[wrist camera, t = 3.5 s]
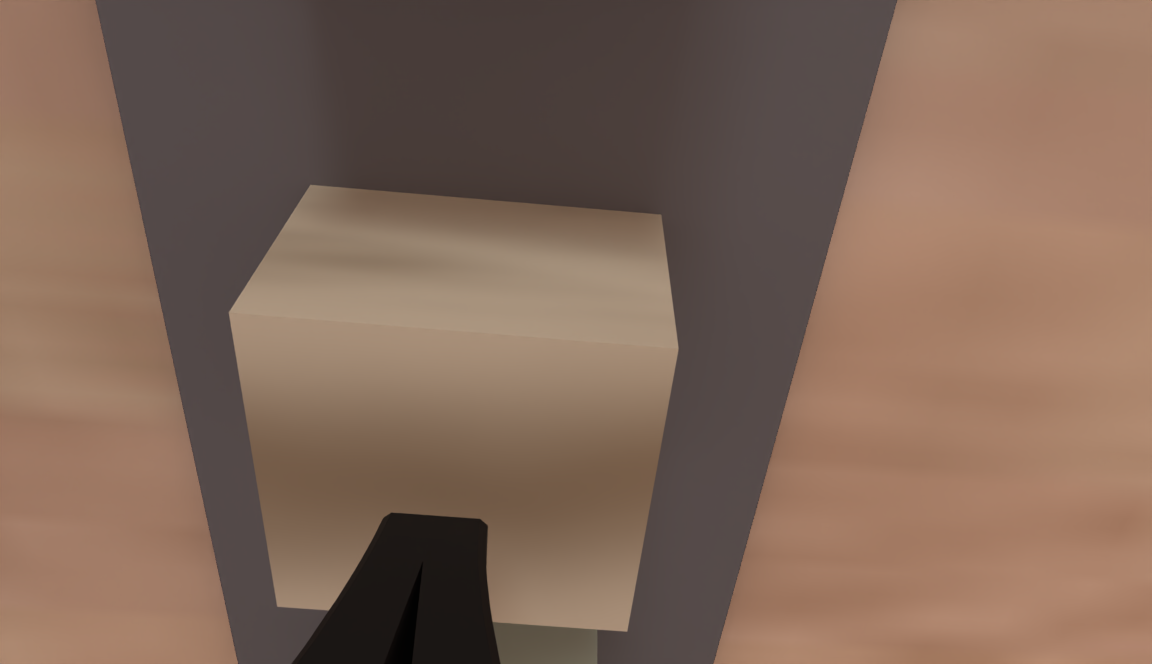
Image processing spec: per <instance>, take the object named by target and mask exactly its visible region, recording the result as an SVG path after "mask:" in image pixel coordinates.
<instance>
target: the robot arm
mask: <svg viewBox="0 0 1152 664" xmlns="http://www.w3.org/2000/svg"><path fill="white" fill-rule="evenodd" d="M487 540H488V525H487V524H486V523H485V522H483V521H482V520H481V519H476V518H462V517H448V516H434V515H420V514H406V513H392V512H391V513H390V514H388V515H387V516H385V517H384V518H383V519H382V521H381V523H380V525H379V527H378V529H377V531H376V533H375V535H374V537H373V539H372V541H371V543H370V544H369V546H368V548H367V550H366V552H365V553H364V555H363V557H362V559H361V560H360V562H359V564H358V565H357V567H356V569H355V571H354V572H353V574H352V575H351V577H350V579H349V580H348V582H347V583H346V585H345V587H344V588H343V590H342V591H341V593H340V595H339V596H338V598H337V599H336V601H335V602H334V604H333V605H332V607H331V608H330V609H329V611H328V612H327V614H326V615H325V617H324V618H323V620H322V621H321V623H320V624H319V626H318V627H317V629H316V630H315V632H314V633H313V635H312V636H311V638H310V639H309V640H308V642H307V643H306V645H305V646H304V647H303V649H302V650H301V652H300V653H299V654H298V656H297V657H296V658H295V660H294V661H293V662H292V664H501V663H500V658H499V653H498V648H497V643H496V638H495V632H494V627H493V621H492V615H491V609H490V601H489V592H488V583H487V569H486V566H487Z"/></svg>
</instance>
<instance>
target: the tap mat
mask: <svg viewBox="0 0 1152 664" xmlns="http://www.w3.org/2000/svg"><path fill="white" fill-rule="evenodd" d="M896 3H897V0H96V5H97V9H98V14H99V19H100V23H101V28H102V33H103V37H104V42H105V47H106V51H107V56H108V61H109V65H110V70H111V75H112V79H113V84H114V89H115V93H116V98H117V102H118V107H119V112H120V116H121V121H122V126H123V130H124V135H125V140H126V144H127V149H128V154H129V158H130V163H131V168H132V172H133V177H134V181H135V186H136V191H137V195H138V200H139V205H140V209H141V214H142V219H143V223H144V228H145V233H146V237H147V242H148V247H149V251H150V256H151V261H152V265H153V270H154V274H155V279H156V284H157V288H158V293H159V298H160V302H161V307H162V312H163V316H164V321H165V326H166V330H167V335H168V340H169V344H170V349H171V354H172V358H173V363H174V367H175V372H176V377H177V381H178V386H179V391H180V395H181V400H182V405H183V409H184V414H185V419H186V423H187V428H188V433H189V437H190V442H191V447H192V451H193V456H194V460H195V465H196V470H197V474H198V479H199V484H200V488H201V493H202V498H203V502H204V507H205V512H206V516H207V521H208V526H209V530H210V535H211V539H212V544H213V549H214V553H215V558H216V563H217V567H218V572H219V577H220V581H221V586H222V591H223V595H224V600H225V605H226V609H227V614H228V619H229V623H230V628H231V632H232V637H233V642H234V646H235V651H236V656H237V660H238V664H292V662H293V661H294V660H295V658H296V657H297V656H298V654H299V653H300V652H301V650H302V649H303V647H304V646H305V645H306V643H307V642H308V640H309V639H310V638H311V636H312V635H313V633H314V632H315V630H316V629H317V627H318V626H319V624H320V623H321V621H322V620H323V618H324V617H325V615H326V614H327V612H328V611H329V610H316V609H301V608H287V607H277V602H276V596H275V590H274V584H273V578H272V572H271V566H270V560H269V554H268V548H267V542H266V535H265V529H264V523H263V517H262V511H261V505H260V499H259V493H258V487H257V481H256V475H255V469H254V463H253V457H252V451H251V445H250V438H249V432H248V426H247V420H246V414H245V408H244V402H243V396H242V390H241V384H240V378H239V372H238V366H237V360H236V354H235V348H234V341H233V335H232V329H231V323H230V317H229V311H230V310H231V308H232V307H233V305H234V304H235V302H236V300H237V299H238V297H239V296H240V294H241V293H242V291H243V290H244V288H245V286H246V285H247V283H248V282H249V280H250V279H251V277H252V275H253V274H254V272H255V271H256V269H257V268H258V266H259V264H260V263H261V261H262V260H263V258H264V257H265V255H266V254H267V252H268V250H269V249H270V247H271V246H272V244H273V243H274V241H275V239H276V238H277V236H278V235H279V233H280V232H281V230H282V228H283V227H284V225H285V224H286V222H287V221H288V219H289V218H290V216H291V214H292V213H293V211H294V210H295V208H296V207H297V205H298V203H299V202H300V200H301V199H302V197H303V196H304V194H305V192H306V191H307V189H308V188H309V186H310V185H319V186H330V187H342V188H354V189H366V190H378V191H389V192H401V193H413V194H425V195H437V196H448V197H460V198H472V199H484V200H495V201H507V202H519V203H531V204H543V205H554V206H566V207H578V208H590V209H602V210H613V211H625V212H637V213H649V214H660V215H661V216H662V224H663V232H664V240H665V247H666V255H667V263H668V270H669V278H670V286H671V294H672V301H673V309H674V317H675V324H676V332H677V340H678V348H679V350H678V355H677V361H676V366H675V372H674V377H673V383H672V388H671V394H670V399H669V405H668V410H667V416H666V421H665V427H664V432H663V438H662V443H661V449H660V454H659V460H658V465H657V471H656V476H655V482H654V487H653V493H652V498H651V504H650V509H649V515H648V520H647V526H646V531H645V537H644V542H643V548H642V553H641V559H640V564H639V570H638V575H637V581H636V586H635V592H634V597H633V603H632V608H631V614H630V619H629V625H628V630H627V632H625V631H611V630H597V664H713V663H714V659H715V656H716V652H717V648H718V645H719V641H720V638H721V634H722V630H723V627H724V623H725V620H726V616H727V612H728V609H729V605H730V602H731V598H732V594H733V591H734V587H735V584H736V580H737V576H738V573H739V569H740V565H741V562H742V558H743V555H744V551H745V547H746V544H747V540H748V537H749V533H750V529H751V526H752V522H753V519H754V515H755V511H756V508H757V504H758V501H759V497H760V493H761V490H762V486H763V483H764V479H765V475H766V472H767V468H768V464H769V461H770V457H771V454H772V450H773V446H774V443H775V439H776V436H777V432H778V428H779V425H780V421H781V418H782V414H783V410H784V407H785V403H786V400H787V396H788V392H789V389H790V385H791V381H792V378H793V374H794V371H795V367H796V363H797V360H798V356H799V353H800V349H801V345H802V342H803V338H804V335H805V331H806V327H807V324H808V320H809V317H810V313H811V309H812V306H813V302H814V298H815V295H816V291H817V288H818V284H819V280H820V277H821V273H822V270H823V266H824V262H825V259H826V255H827V252H828V248H829V244H830V241H831V237H832V234H833V230H834V226H835V223H836V219H837V215H838V212H839V208H840V205H841V201H842V197H843V194H844V190H845V187H846V183H847V179H848V176H849V172H850V169H851V165H852V161H853V158H854V154H855V151H856V147H857V143H858V140H859V136H860V132H861V129H862V125H863V122H864V118H865V114H866V111H867V107H868V104H869V100H870V96H871V93H872V89H873V86H874V82H875V78H876V75H877V71H878V68H879V64H880V60H881V57H882V53H883V50H884V46H885V42H886V39H887V35H888V31H889V28H890V24H891V21H892V17H893V13H894V10H895V6H896Z"/></svg>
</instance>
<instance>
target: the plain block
mask: <svg viewBox="0 0 1152 664" xmlns="http://www.w3.org/2000/svg"><path fill="white" fill-rule="evenodd" d="M229 317H230V323H231V329H232V335H233V341H234V348H235V354H236V360H237V366H238V372H239V378H240V384H241V390H242V396H243V402H244V408H245V414H246V420H247V426H248V432H249V438H250V445H251V451H252V457H253V463H254V469H255V475H256V481H257V487H258V493H259V499H260V505H261V511H262V517H263V523H264V529H265V535H266V542H267V548H268V554H269V560H270V566H271V572H272V578H273V584H274V590H275V596H276V602H277V607H287V608H301V609H316V610H329V609H330V608H331V607H332V605H333V604H334V602H335V601H336V599H337V598H338V596H339V595H340V593H341V591H342V590H343V588H344V587H345V585H346V583H347V582H348V580H349V579H350V577H351V575H352V574H353V572H354V571H355V569H356V567H357V565H358V564H359V562H360V560H361V559H362V557H363V555H364V553H365V552H366V550H367V548H368V546H369V544H370V543H371V541H372V539H373V537H374V535H375V533H376V531H377V529H378V527H379V525H380V523H381V521H382V519H383V518H384V517H385V516H387V515H388V514H390V513H391V512H392V513H406V514H420V515H434V516H448V517H462V518H476V519H481V520H482V521H483V522H485V523H486V524H487V525H488V540H487V566H486V569H487V583H488V592H489V601H490V609H491V615H492V621H493V622H498V623H512V624H527V625H541V626H555V627H569V628H583V629H597V630H611V631H625V632H627V630H628V625H629V619H630V614H631V608H632V603H633V597H634V592H635V586H636V581H637V575H638V570H639V564H640V559H641V553H642V548H643V542H644V537H645V531H646V526H647V520H648V515H649V509H650V504H651V498H652V493H653V487H654V482H655V476H656V471H657V465H658V460H659V454H660V449H661V443H662V438H663V432H664V427H665V421H666V416H667V410H668V405H669V399H670V394H671V388H672V383H673V377H674V372H675V366H676V361H677V355H678V350H679V348H678V340H677V332H676V324H675V317H674V309H673V301H672V294H671V286H670V278H669V270H668V263H667V255H666V247H665V240H664V232H663V224H662V216H661V215H660V214H649V213H637V212H625V211H613V210H602V209H590V208H578V207H566V206H554V205H543V204H531V203H519V202H507V201H495V200H484V199H472V198H460V197H448V196H437V195H425V194H413V193H401V192H389V191H378V190H366V189H354V188H342V187H330V186H319V185H310V186H309V188H308V189H307V191H306V192H305V194H304V196H303V197H302V199H301V200H300V202H299V203H298V205H297V207H296V208H295V210H294V211H293V213H292V214H291V216H290V218H289V219H288V221H287V222H286V224H285V225H284V227H283V228H282V230H281V232H280V233H279V235H278V236H277V238H276V239H275V241H274V243H273V244H272V246H271V247H270V249H269V250H268V252H267V254H266V255H265V257H264V258H263V260H262V261H261V263H260V264H259V266H258V268H257V269H256V271H255V272H254V274H253V275H252V277H251V279H250V280H249V282H248V283H247V285H246V286H245V288H244V290H243V291H242V293H241V294H240V296H239V297H238V299H237V300H236V302H235V304H234V305H233V307H232V308H231V310H230V311H229Z"/></svg>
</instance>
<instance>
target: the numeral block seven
mask: <svg viewBox="0 0 1152 664" xmlns="http://www.w3.org/2000/svg"><path fill="white" fill-rule="evenodd" d="M493 627H494V632H495V638H496V643H497V648H498V653H499V658H500V663H501V664H597V629H583V628H569V627H555V626H541V625H527V624H512V623H498V622H493Z"/></svg>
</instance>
